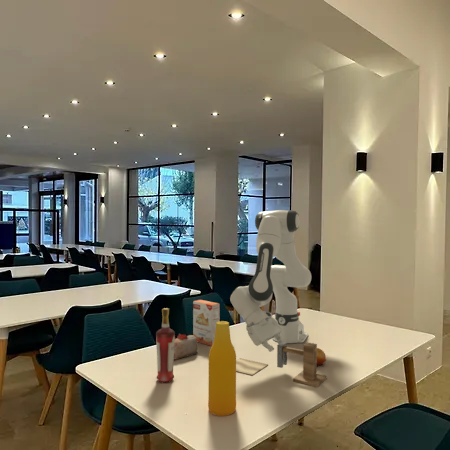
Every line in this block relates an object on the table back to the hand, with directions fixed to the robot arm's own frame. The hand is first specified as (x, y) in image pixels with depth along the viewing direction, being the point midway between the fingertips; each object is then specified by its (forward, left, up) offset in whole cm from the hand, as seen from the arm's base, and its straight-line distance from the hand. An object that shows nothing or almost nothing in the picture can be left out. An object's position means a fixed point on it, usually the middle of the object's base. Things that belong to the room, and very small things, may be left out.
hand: (277, 347), depth 166 cm
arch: (0, +2, -7) cm, 7 cm away
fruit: (-18, +10, -11) cm, 23 cm away
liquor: (+32, -33, -10) cm, 47 cm away
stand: (0, +10, -10) cm, 14 cm away
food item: (+6, -46, -11) cm, 47 cm away
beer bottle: (+40, -1, -10) cm, 41 cm away
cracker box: (-16, -48, -10) cm, 52 cm away
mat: (+2, -14, -10) cm, 17 cm away
